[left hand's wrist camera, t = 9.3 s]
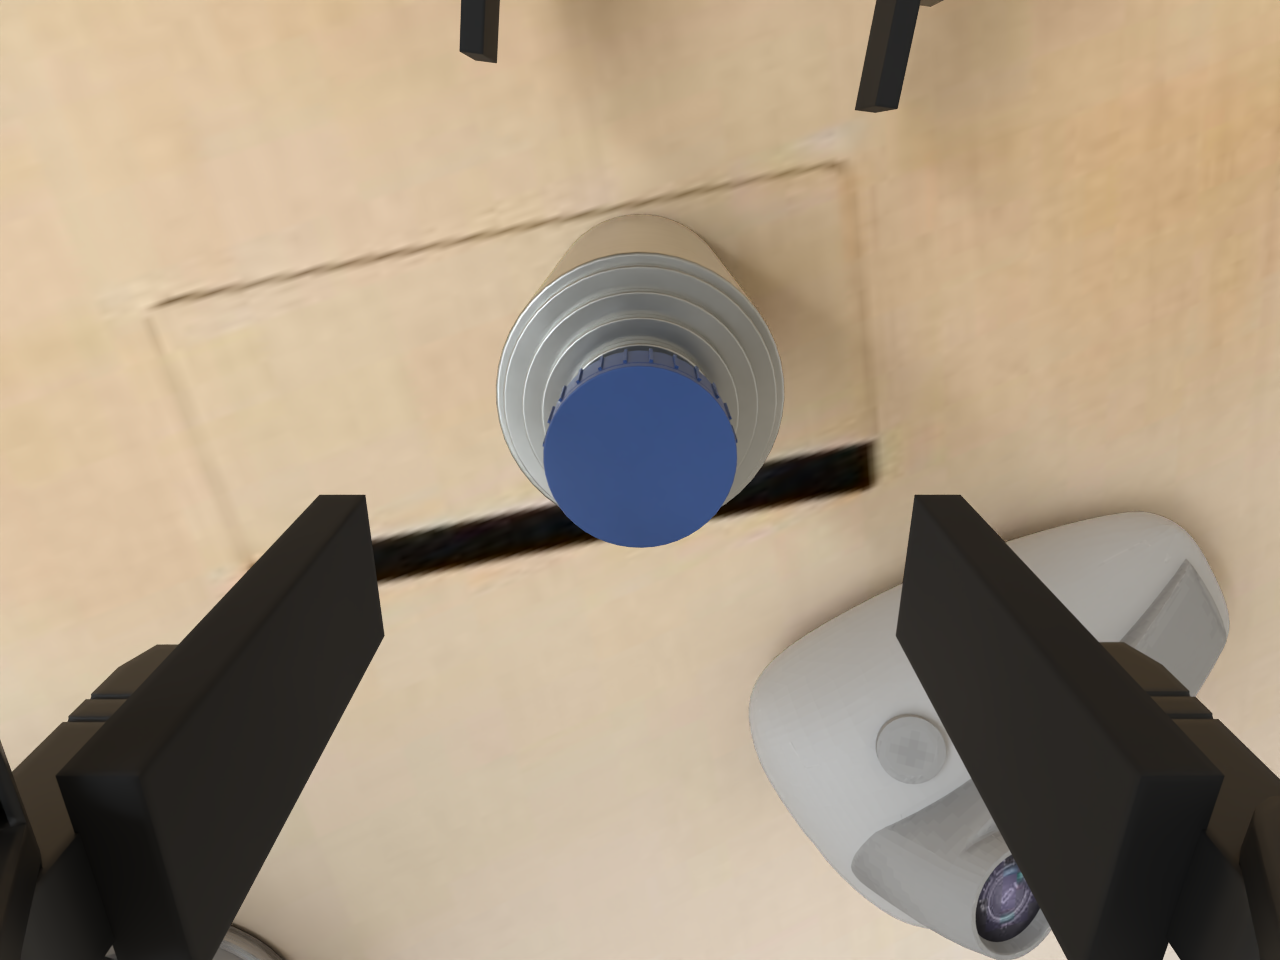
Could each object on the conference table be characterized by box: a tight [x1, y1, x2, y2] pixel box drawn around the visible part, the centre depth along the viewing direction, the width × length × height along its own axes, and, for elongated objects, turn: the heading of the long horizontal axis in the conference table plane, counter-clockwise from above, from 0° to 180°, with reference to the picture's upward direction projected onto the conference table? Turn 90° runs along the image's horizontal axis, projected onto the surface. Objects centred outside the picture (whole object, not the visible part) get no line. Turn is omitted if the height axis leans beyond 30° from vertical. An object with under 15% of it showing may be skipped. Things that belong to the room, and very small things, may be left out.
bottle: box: [496, 214, 784, 506], centre depth 28 cm, size 8×8×19 cm
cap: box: [543, 348, 738, 548], centre depth 19 cm, size 5×4×2 cm
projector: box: [749, 512, 1229, 960], centre depth 37 cm, size 22×23×15 cm
